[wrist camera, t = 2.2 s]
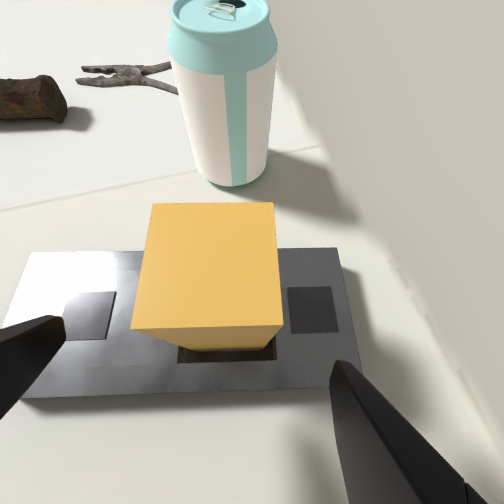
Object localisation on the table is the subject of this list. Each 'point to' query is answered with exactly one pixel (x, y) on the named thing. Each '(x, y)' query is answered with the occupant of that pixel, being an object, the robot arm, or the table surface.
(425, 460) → the robot arm
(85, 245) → the table surface
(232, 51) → the can
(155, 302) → the amber peg
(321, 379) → the charcoal peg board
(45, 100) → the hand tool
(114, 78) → the pliers
